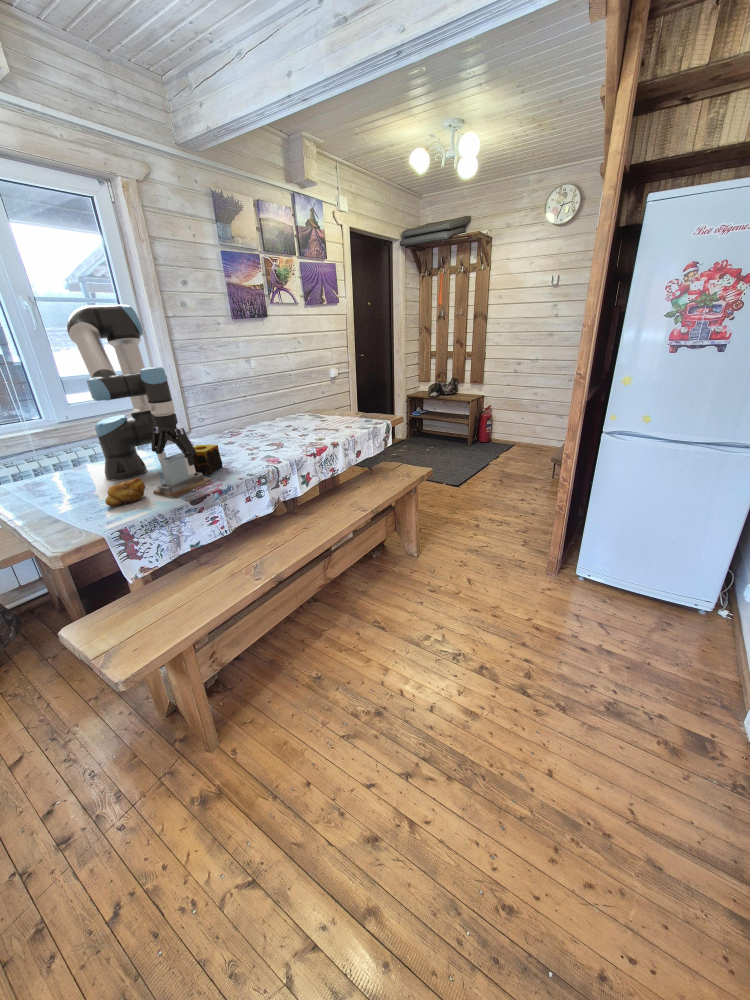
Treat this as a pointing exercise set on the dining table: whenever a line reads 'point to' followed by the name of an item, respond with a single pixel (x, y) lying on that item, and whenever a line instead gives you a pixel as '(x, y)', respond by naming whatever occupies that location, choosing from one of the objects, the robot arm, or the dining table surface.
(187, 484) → the track
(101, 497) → the dining table surface
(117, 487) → the bread roll
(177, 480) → the grey upright block
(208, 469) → the candle
